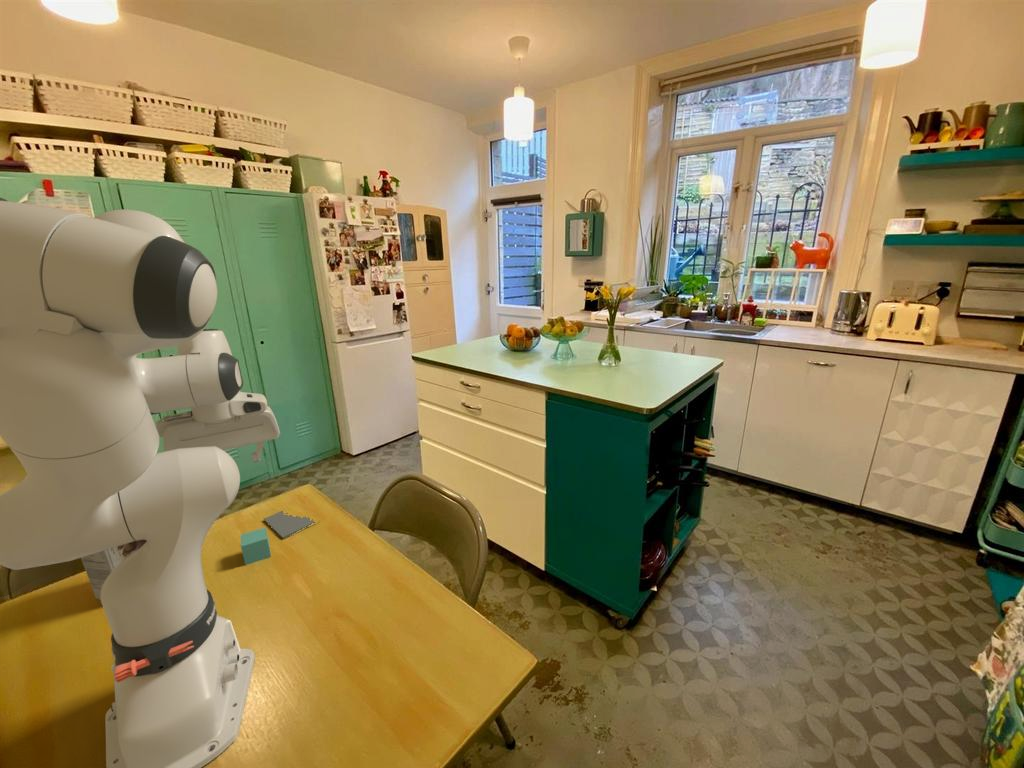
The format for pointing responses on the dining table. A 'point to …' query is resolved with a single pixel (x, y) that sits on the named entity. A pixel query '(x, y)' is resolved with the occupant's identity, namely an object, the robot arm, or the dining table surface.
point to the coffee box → (107, 563)
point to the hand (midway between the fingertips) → (231, 466)
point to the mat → (287, 523)
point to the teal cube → (255, 546)
